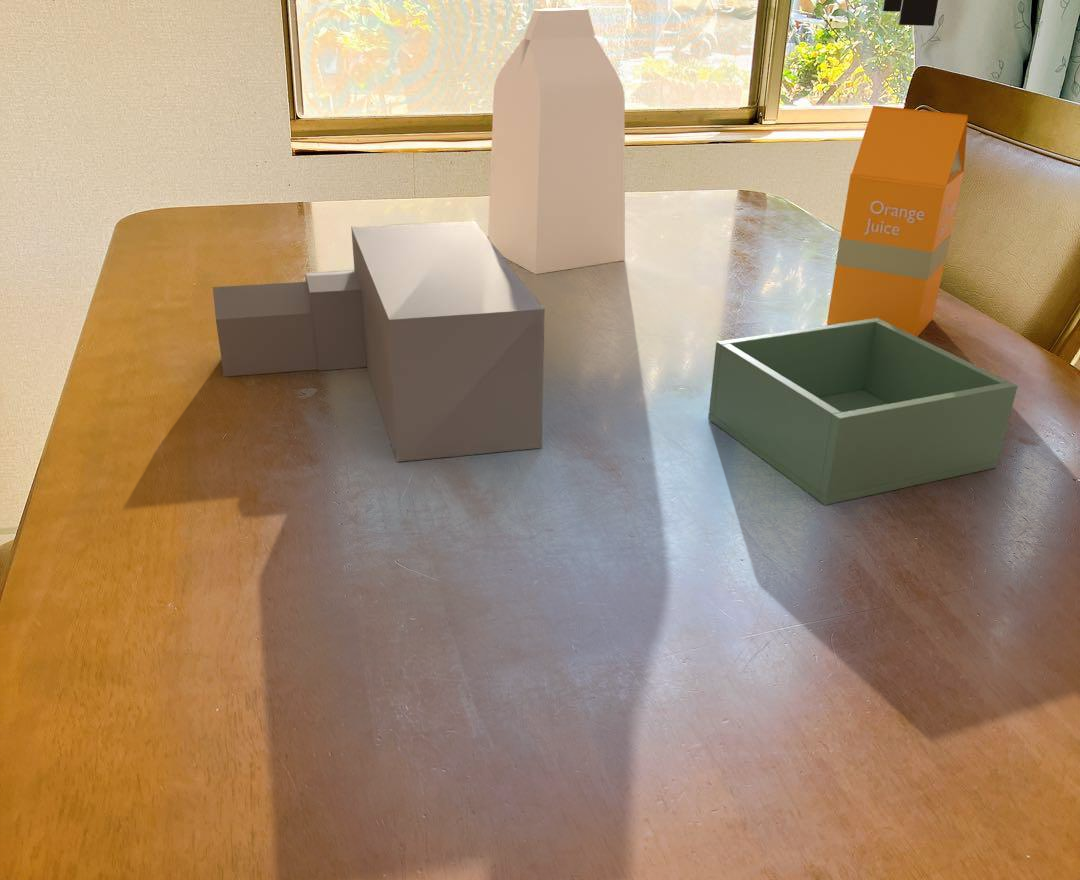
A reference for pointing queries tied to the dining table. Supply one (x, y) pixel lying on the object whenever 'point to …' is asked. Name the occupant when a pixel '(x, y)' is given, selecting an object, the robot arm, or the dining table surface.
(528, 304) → the grey stepped block
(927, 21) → the robot arm
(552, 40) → the milk
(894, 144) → the orange juice
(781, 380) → the crate
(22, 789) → the dining table surface
